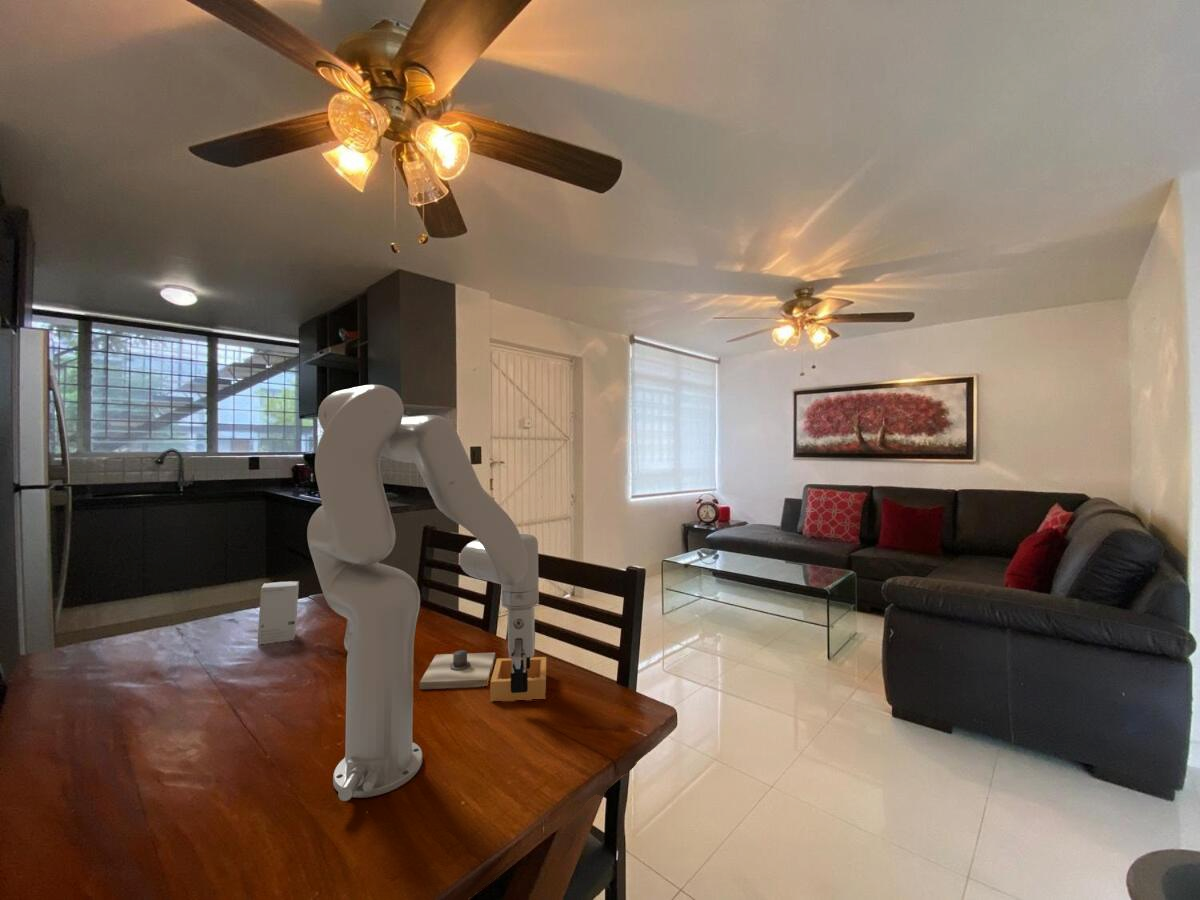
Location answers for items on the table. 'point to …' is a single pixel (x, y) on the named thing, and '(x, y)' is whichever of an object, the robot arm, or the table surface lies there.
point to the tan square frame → (502, 687)
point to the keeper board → (458, 670)
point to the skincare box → (278, 612)
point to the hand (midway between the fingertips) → (521, 679)
